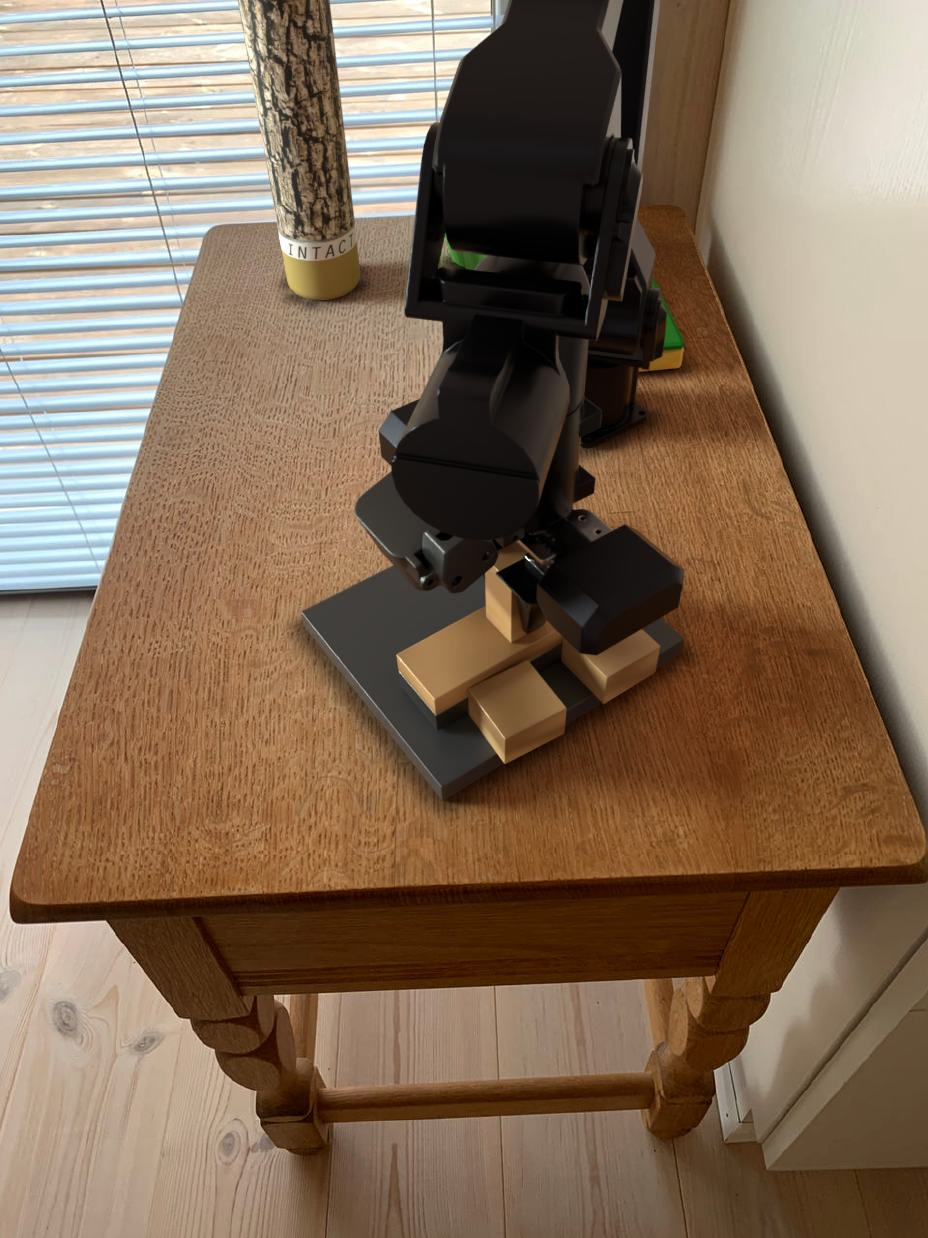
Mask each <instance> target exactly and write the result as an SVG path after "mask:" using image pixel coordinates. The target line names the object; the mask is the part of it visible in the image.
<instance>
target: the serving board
mask: <svg viewBox="0 0 928 1238" xmlns="http://www.w3.org/2000/svg"><path fill="white" fill-rule="evenodd" d="M485 606H486V590H485V579H484V577H483V575H482V576H481V577H480V578H479V579H478V580H476V581H475V582H474V583H473V584H472V585H470V586H469V587H468V588H467V589H466V590H464V591H463V592H460V593H455V594H451V593H450V592H449V591H448V590H447V589H446V588H445V587H444V586H437V587H436V588H434V589H432V590H430V591H421V590H418V589H415V588H414V587H413V586H412V585H411V584H410V583H409V582H408V581H407V580H406V578H405V577H404V576H403V575H402V574H401V573H400V572H399V571H398V570H397V568H396V567H395V566H394V565H393V564H392V565H391V566H389V567H387V568H384V569H383V570H381V571H378V572H377V573H375V574H373V575H371V576H369V577H366V578H365V579H363V580H361V581H359V582H357V583H355V584H353V585H351V586H349V587H347V588H345V589H343V590H341V591H339V592H337V593H335V594H333V595H331V596H329V597H327V598H326V599H323V600H321V601H319V602H317V603H315V604H313V605H312V606H309V607H308V608H307V607H306V608H305V609H303V610H301V612H300V613H301V614H300V615H301V618H302V622H303V627H304V628H305V630H306V631H307V632H308V633H309V634H310V636H311V637H312V639H313V640H314V641H315V642H316V643H317V645H318V646H319V647H320V648H321V649H322V651H323V652H324V654H325V655H326V656H327V657H328V659H329V660H330V661H331V662H332V664H333V665H334V666H335V668H336V669H337V670H338V672H339V673H340V674H341V675H342V677H344V679H345V680H346V681H347V683H348V684H349V686H351V688H352V689H353V690H354V691H355V693H356V694H357V696H359V698H360V699H361V700H362V702H363V703H364V704H365V705H366V707H367V708H368V709H369V710H370V712H371V713H372V715H374V717H375V718H376V719H377V720H378V721H379V723H380V725H382V727H383V728H384V729H385V731H386V732H387V733H388V734H389V736H390V737H391V739H393V741H394V742H395V744H396V745H397V746H398V747H399V748H400V750H401V751H402V753H404V755H405V757H407V759H408V760H409V762H411V763H412V765H413V766H414V767H415V769H416V770H417V771H418V772H419V774H420V775H421V776H422V777H423V779H424V780H425V781H426V783H427V784H428V786H430V787H431V789H432V790H433V791H434V792H435V794H436V795H437V796H438V798H439V799H440V800H441V801H442V802H444V801H446V800H447V799H449V798H451V797H453V796H454V795H456V794H457V793H459V792H461V791H462V790H464V789H465V788H467V787H468V786H470V785H472V784H473V783H475V782H477V781H478V780H480V779H481V778H483V777H485V776H486V775H488V774H489V773H491V772H492V771H494V770H496V769H498V768H499V767H501V766H503V765H504V762H503V761H502V760H501V758H500V757H499V755H498V754H497V753H496V751H495V750H494V749H493V747H492V746H491V744H490V743H489V742H488V740H487V739H486V738H485V736H484V735H483V733H482V732H481V731H480V729H479V728H478V726H477V725H476V724H475V722H474V721H473V720H472V718H471V717H470V715H469V713H467V714H466V715H464V716H462V717H460V718H459V719H457V720H455V721H454V722H452V723H450V724H448V725H447V726H445V727H443V728H442V729H440V730H438V731H437V730H436V729H435V727H434V726H433V725H432V724H431V722H430V721H429V720H428V719H427V718H426V716H425V715H424V714H423V713H422V712H421V710H420V709H419V708H418V707H417V705H416V704H415V703H414V702H413V701H412V699H411V698H410V697H409V696H408V695H407V693H406V692H405V691H404V690H403V688H402V687H401V686H400V679H399V670H398V663H397V656H396V655H397V654H398V653H400V652H402V651H404V650H406V649H407V648H409V647H411V646H413V645H415V644H417V643H418V642H420V641H422V640H424V639H426V638H428V637H429V636H431V635H433V634H435V633H437V632H439V631H441V630H442V629H444V628H446V627H448V626H450V625H452V624H453V623H455V622H457V621H459V620H461V619H463V618H464V617H466V616H468V615H470V614H472V613H474V612H475V611H477V610H479V609H481V608H483V607H485ZM642 630H643V631H645V632H646V633H647V634H648V635H649V636H650V637H651V638H652V639H653V640H654V641H655V642H656V643H658V644H659V645H660V650H659V655H658V661H657V666H656V670H658V669H660V668H661V667H662V666H664V665H665V664H667V663H669V662H670V661H672V660H674V659H675V658H677V657H678V656H681V655H682V653H683V648H684V643H685V637H684V636H682V635H681V634H680V633H679V632H678V631H677V630H676V629H674V628H673V627H672V626H671V625H670V624H669V623H668V622H667V621H665V619H663V617H661V618H660V619H658V620H656V621H655V622H653V623H651V624H650V625H648V626H646V627H644V628H643V629H642ZM538 673H539V675H540V676H541V677H542V678H543V679H544V681H545V682H546V683H547V684H548V686H549V687H550V688H551V689H552V691H553V692H554V693H555V694H556V696H557V697H558V698H559V699H560V700H561V702H562V703H563V704H564V705H565V707H566V708H567V710H566V720H565V726H567V725H569V724H570V723H572V722H574V721H575V720H577V719H579V718H580V717H582V716H583V715H585V714H587V713H588V712H590V711H591V710H593V709H595V708H596V707H598V706H599V705H601V704H603V703H602V702H601V701H600V700H599V699H598V698H597V697H596V696H595V695H594V694H593V693H592V692H591V691H590V690H589V689H588V688H587V687H586V686H585V685H584V683H583V682H582V681H581V680H580V679H579V678H578V677H577V676H576V675H575V674H574V673H573V672H572V671H571V670H570V669H569V668H568V667H567V666H566V665H565V664H564V663H563V662H562V661H561V659H559V660H558V661H556V662H554V663H553V664H551V665H549V666H547V667H546V668H544V669H542V670H541V671H539V672H538Z"/></svg>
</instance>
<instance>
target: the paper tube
mask: <svg viewBox="0 0 928 1238" xmlns="http://www.w3.org/2000/svg"><path fill="white" fill-rule="evenodd" d="M237 4H238V9H239V15H240V22H241V27H242V33H243V38H244V45H245V49H246V55H247V61H248V66H249V73H250V78H251V83H252V90H253V96H254V101H255V106H256V111H257V118H258V124H259V129H260V136H261V141H262V146H263V147H262V148H263V152H264V157H265V163H266V169H267V175H268V180H269V186H270V191H271V198H272V204H273V209H274V214H275V220H276V226H277V231H278V237H279V244H280V248H281V253H282V259H283V264H284V270H285V276H286V281H287V282H286V283H287V284H288V287H289V288H290V289H291V290H292V291H293V293H294V294H296V295H297V296H300V297H302V298H304V299H308V300H313V301H328V300H333V299H337V298H341V297H343V296H345V295H347V294H349V293H350V292H352V291H353V290H355V288H356V287H357V286H358V285H359V282H360V280H361V267H360V259H359V249H358V248H359V247H358V242H357V241H358V238H357V237H358V236H357V230H356V229H357V228H356V221H355V212H354V203H353V193H352V185H351V176H350V168H349V167H350V166H349V159H348V149H347V141H346V133H345V124H344V114H343V106H342V105H343V104H342V96H341V88H340V80H339V72H338V71H339V70H338V63H337V62H338V61H337V54H336V53H337V52H336V45H335V36H334V27H333V19H332V10H331V9H332V8H331V1H330V0H237Z"/></svg>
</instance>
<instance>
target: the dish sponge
mask: <svg viewBox="0 0 928 1238" xmlns="http://www.w3.org/2000/svg"><path fill="white" fill-rule="evenodd" d="M652 288H659V285H658V283H657V281H656V278H655V277H654V276H653V284H652ZM661 299H662V305H663V307H664V308H665V309H666V311H667V325H666V335H665V342H664V349H663V355H662V357H660V358H658V359H655V360H654V361H653V362H652V361H651V363H650V367H649V370H644V369H642V368H639V373H641V372H649V371H650V372H652V371H659V370H660V371H661V370H669V369H679V368H680V367H681V366H682V363H683V357H684V350H685V349H684V347H685V344H686V342H685V340H684V337H683V335H682V333H681V332H680V329H679V327H678V325H677V323H676V321H675V319H674V316H673V315H672V312H671V311H670V308H669V306H668V304H667V302H666V300H665V298H664V296H663V294H662V293H661Z"/></svg>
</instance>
